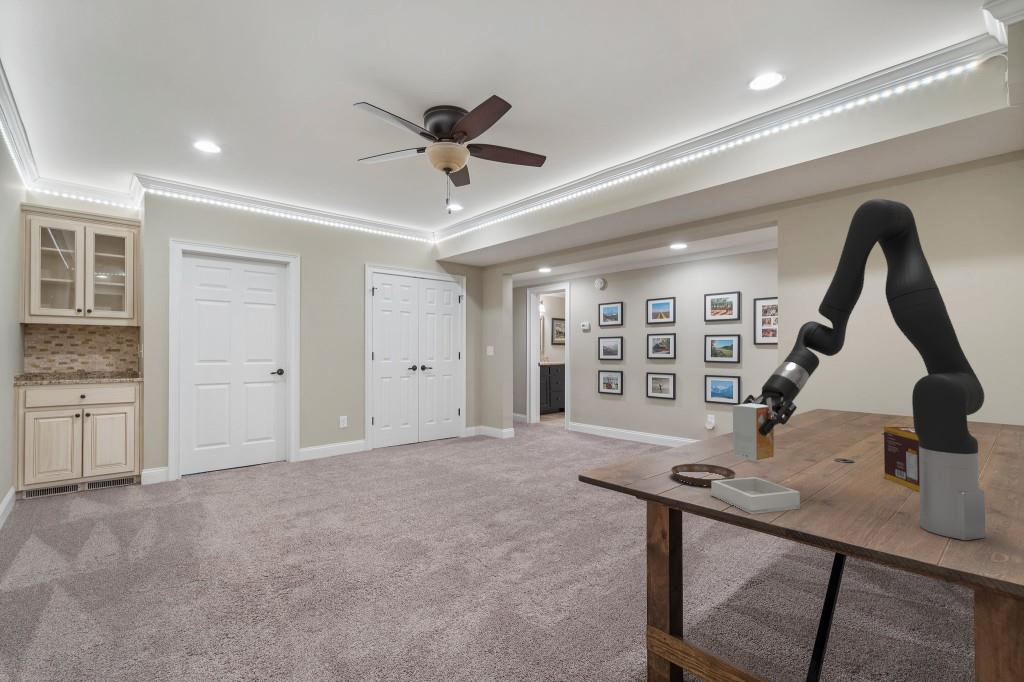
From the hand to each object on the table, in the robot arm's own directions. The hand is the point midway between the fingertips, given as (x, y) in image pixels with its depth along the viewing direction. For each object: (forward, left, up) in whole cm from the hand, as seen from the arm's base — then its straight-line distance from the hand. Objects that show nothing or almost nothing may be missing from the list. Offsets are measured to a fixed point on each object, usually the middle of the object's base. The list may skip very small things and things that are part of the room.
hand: (748, 430), depth 119 cm
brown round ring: (+21, -2, -18) cm, 28 cm away
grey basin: (0, -1, -18) cm, 18 cm away
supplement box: (-1, -57, -18) cm, 60 cm away
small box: (0, -1, -7) cm, 7 cm away
